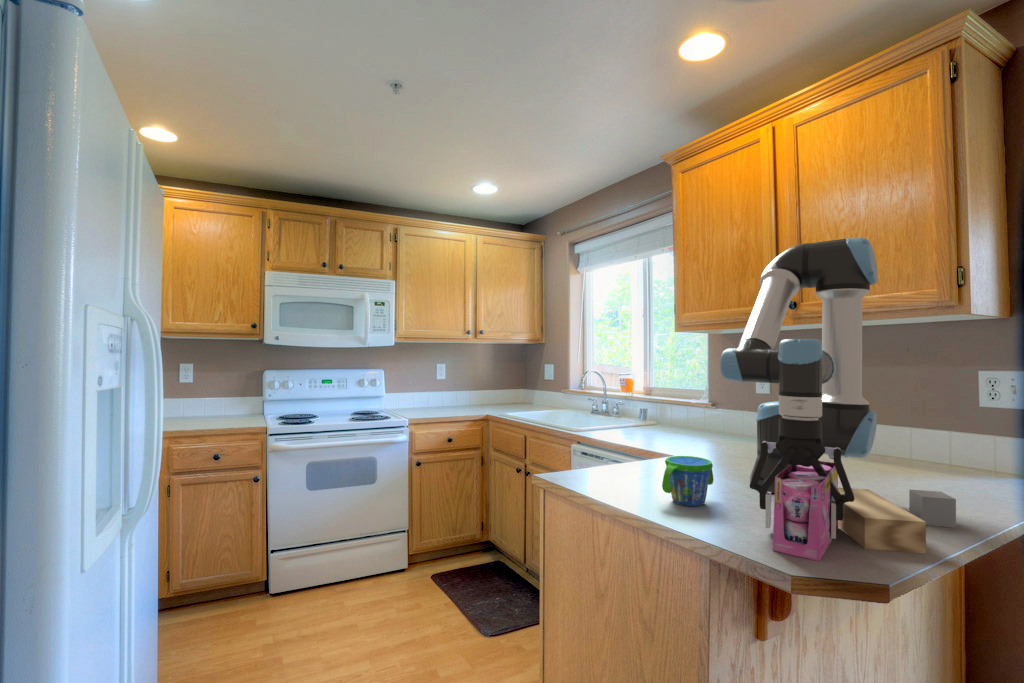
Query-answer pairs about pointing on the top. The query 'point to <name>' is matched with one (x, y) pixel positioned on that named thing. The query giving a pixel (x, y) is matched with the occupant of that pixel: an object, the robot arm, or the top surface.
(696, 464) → the snack cup
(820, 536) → the gum box
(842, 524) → the oak block
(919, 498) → the grey block
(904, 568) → the top surface
